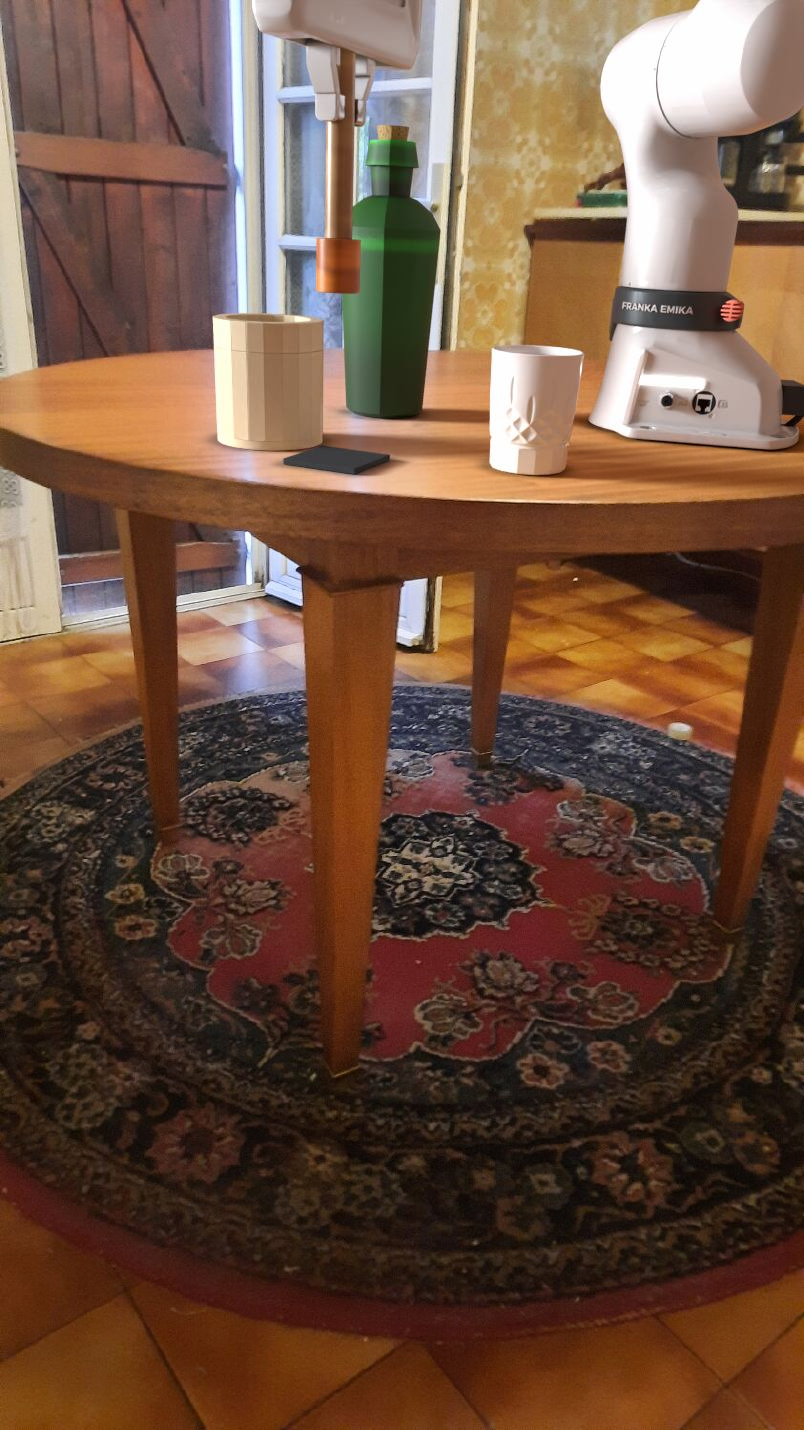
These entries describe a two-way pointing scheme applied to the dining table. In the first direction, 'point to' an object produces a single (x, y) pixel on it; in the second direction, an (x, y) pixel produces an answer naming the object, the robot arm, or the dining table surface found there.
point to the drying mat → (337, 459)
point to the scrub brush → (340, 196)
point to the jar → (269, 380)
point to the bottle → (390, 286)
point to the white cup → (532, 407)
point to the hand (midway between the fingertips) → (341, 124)
